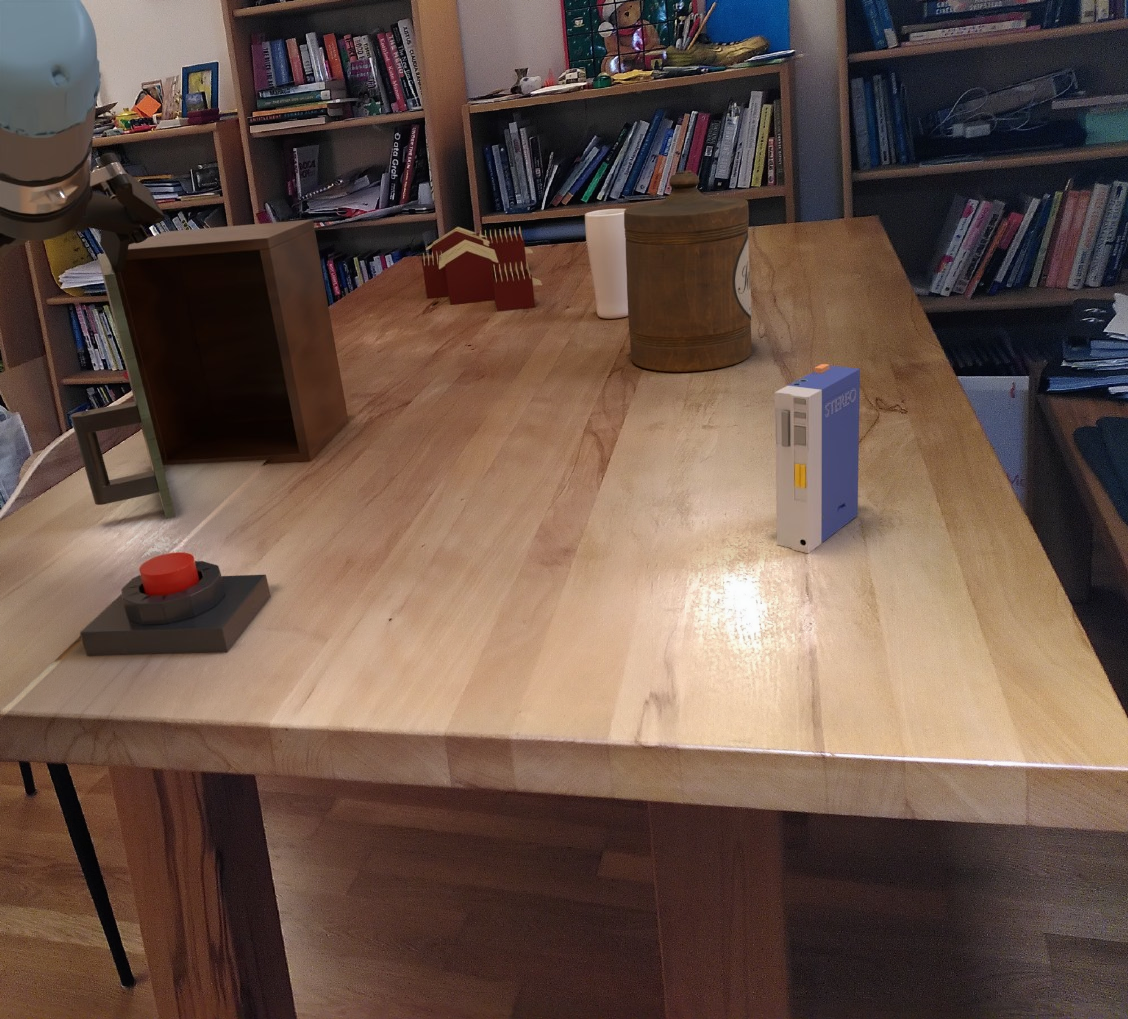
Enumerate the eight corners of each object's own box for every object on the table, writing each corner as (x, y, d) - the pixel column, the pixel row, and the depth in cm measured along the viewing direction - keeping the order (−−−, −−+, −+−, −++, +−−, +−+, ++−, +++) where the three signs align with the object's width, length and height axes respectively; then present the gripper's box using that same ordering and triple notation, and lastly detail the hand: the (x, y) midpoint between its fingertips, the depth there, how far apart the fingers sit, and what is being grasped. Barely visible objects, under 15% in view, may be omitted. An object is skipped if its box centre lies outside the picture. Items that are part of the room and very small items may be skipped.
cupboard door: (103, 537, 90) (32, 284, 82) (96, 484, 103) (35, 262, 95) (176, 520, 92) (114, 272, 84) (160, 470, 106) (106, 253, 97)
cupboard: (310, 462, 104) (267, 237, 96) (160, 470, 106) (104, 251, 98) (348, 422, 116) (313, 219, 108) (212, 430, 118) (167, 231, 110)
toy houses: (428, 274, 206) (421, 222, 202) (531, 263, 207) (526, 211, 203) (425, 320, 164) (416, 255, 161) (554, 306, 166) (548, 241, 162)
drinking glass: (647, 314, 154) (640, 209, 148) (610, 323, 151) (602, 216, 145) (619, 308, 159) (612, 207, 154) (583, 317, 156) (574, 214, 150)
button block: (86, 657, 70) (72, 611, 69) (142, 601, 77) (131, 559, 76) (227, 653, 69) (216, 606, 67) (271, 597, 76) (261, 553, 75)
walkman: (824, 509, 82) (825, 360, 77) (858, 516, 80) (860, 363, 75) (773, 546, 76) (771, 388, 72) (807, 554, 75) (807, 392, 70)
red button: (135, 599, 70) (129, 575, 70) (159, 575, 74) (154, 553, 73) (185, 597, 70) (179, 574, 69) (208, 573, 73) (202, 551, 73)
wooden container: (774, 358, 125) (772, 165, 116) (662, 380, 120) (650, 181, 112) (716, 336, 138) (709, 161, 129) (612, 354, 133) (599, 175, 125)
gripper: (-156, 284, 61) (-107, 386, 79) (234, 157, 72) (196, 273, 91) (-224, 169, 60) (-158, 299, 79) (179, 60, 72) (153, 196, 91)
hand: (31, 285), depth 85 cm, fingers open, 13 cm apart
